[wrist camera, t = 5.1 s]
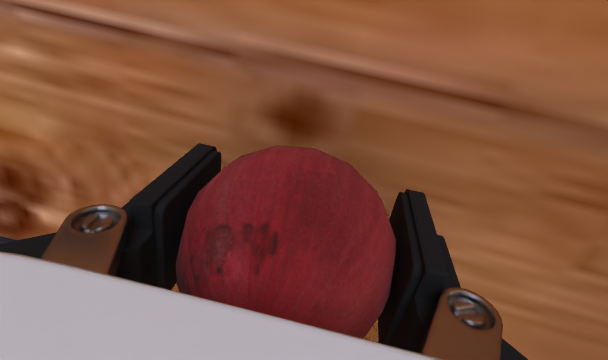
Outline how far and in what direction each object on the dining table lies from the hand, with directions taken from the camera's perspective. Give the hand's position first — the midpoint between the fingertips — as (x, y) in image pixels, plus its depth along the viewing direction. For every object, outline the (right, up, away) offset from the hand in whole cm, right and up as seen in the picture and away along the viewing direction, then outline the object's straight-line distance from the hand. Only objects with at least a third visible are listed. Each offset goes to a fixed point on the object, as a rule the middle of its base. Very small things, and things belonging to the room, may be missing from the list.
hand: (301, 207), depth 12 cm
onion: (0, +1, +1) cm, 2 cm away
